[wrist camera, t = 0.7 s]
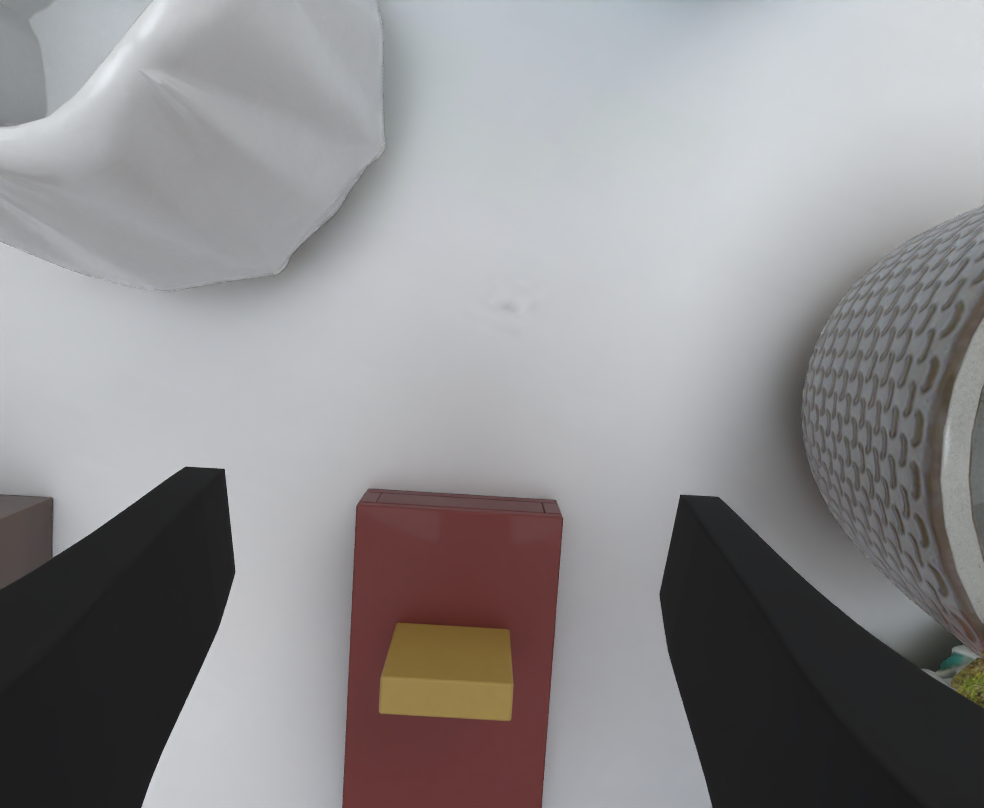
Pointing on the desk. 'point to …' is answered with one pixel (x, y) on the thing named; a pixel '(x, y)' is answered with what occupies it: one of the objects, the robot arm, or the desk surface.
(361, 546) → the cover
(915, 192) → the desk surface
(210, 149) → the vase
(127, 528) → the robot arm
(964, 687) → the stone block
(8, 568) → the stand
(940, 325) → the planter
